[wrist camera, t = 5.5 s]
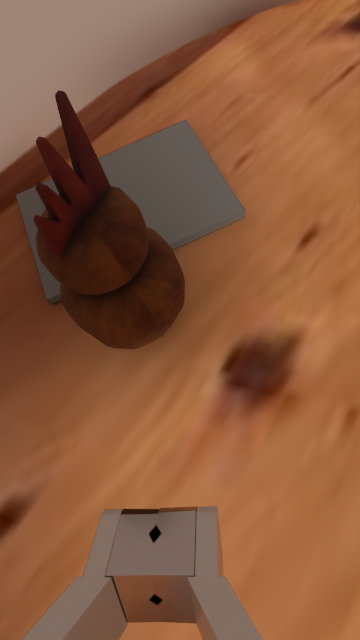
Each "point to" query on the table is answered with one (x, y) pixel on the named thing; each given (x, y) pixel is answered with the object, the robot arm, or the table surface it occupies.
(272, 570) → the table surface
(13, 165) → the table surface
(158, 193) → the rubber mat
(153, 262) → the wooden figurine
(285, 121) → the table surface
